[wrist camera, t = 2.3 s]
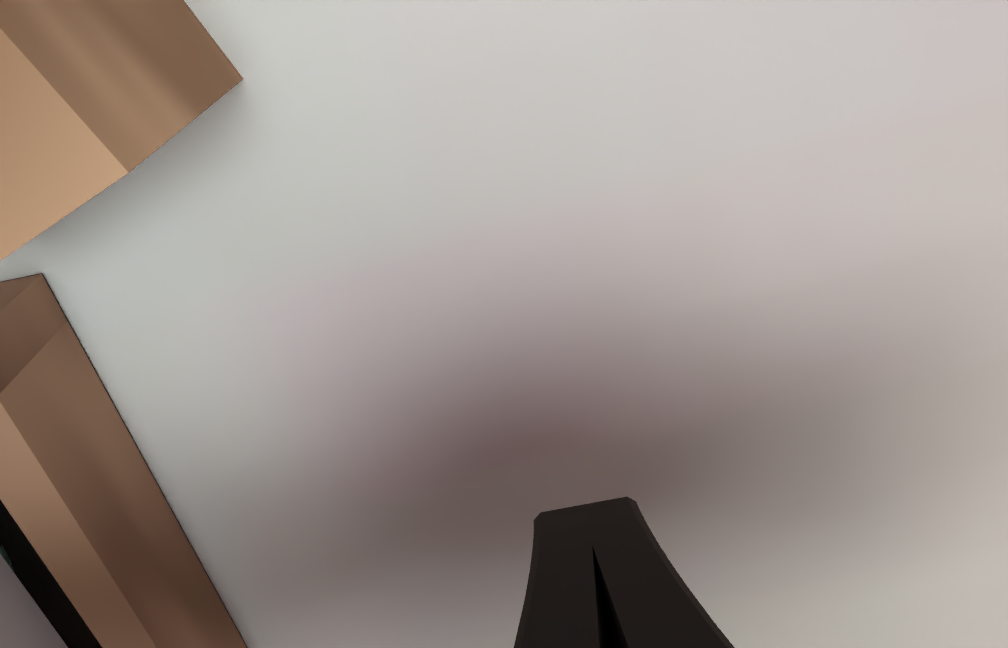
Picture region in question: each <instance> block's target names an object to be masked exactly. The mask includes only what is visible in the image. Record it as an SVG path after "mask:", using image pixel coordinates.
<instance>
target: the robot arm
mask: <svg viewBox="0 0 1008 648" xmlns="http://www.w3.org/2000/svg"><path fill="white" fill-rule="evenodd" d="M514 648H734V647H733V645H732V644H731V643H730V642H729V640H728V639H727V638H726V637H725V635H724V634H723V633H722V632H721V630H720V629H719V628H718V627H717V625H716V624H715V623H714V622H713V620H712V619H711V618H710V616H709V615H708V614H707V612H706V611H705V610H704V608H703V607H702V606H701V604H700V603H699V602H698V600H697V599H696V598H695V596H694V595H693V594H692V592H691V591H690V590H689V588H688V587H687V586H686V584H685V583H684V581H683V580H682V579H681V577H680V576H679V574H678V573H677V571H676V570H675V568H674V567H673V565H672V564H671V562H670V561H669V559H668V558H667V556H666V555H665V553H664V552H663V550H662V549H661V547H660V545H659V544H658V542H657V541H656V539H655V537H654V536H653V534H652V532H651V530H650V529H649V527H648V525H647V523H646V521H645V519H644V518H643V516H642V514H641V512H640V510H639V507H638V505H637V503H636V501H634V500H632V499H630V498H629V497H622V498H617V499H612V500H606V501H601V502H595V503H590V504H584V505H579V506H574V507H568V508H563V509H557V510H552V511H546V512H541V513H540V514H539V515H538V516H537V517H536V518H535V519H534V539H533V550H532V559H531V566H530V573H529V579H528V584H527V590H526V596H525V601H524V605H523V610H522V614H521V618H520V623H519V627H518V632H517V636H516V640H515V645H514Z"/></svg>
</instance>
